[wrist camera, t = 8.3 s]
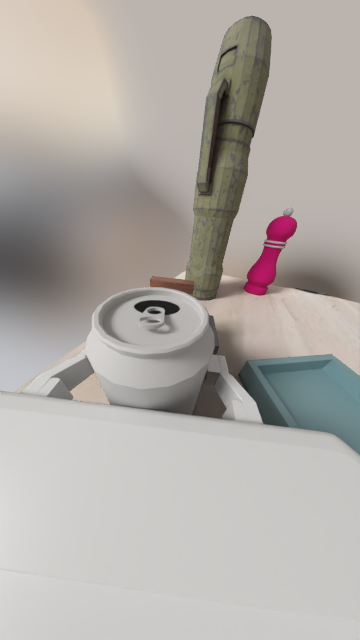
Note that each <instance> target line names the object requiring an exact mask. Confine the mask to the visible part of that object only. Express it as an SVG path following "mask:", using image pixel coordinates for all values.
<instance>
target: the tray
mask: <svg viewBox="0 0 360 640" xmlns="http://www.w3.org/2000/svg"><path fill="white" fill-rule="evenodd" d="M239 376H240V378H241V380H242V382H243V384H244V386H245V388H246V389H247V391H248V393H249V395H250V396H251V397H252V399H253V400H254V401H255V402H256V404H257V407H258V410H259V413H260V416H261V418H262V420H263V422H264V424H266V425H274V426H282V427H290V428H298V429H306V430H314V431H322V432H328V433H331V434H334V435H336V436H337V437H338V438H340V439H341V440H342V441H343V442H345V443H346V444H347V445H348V446H350V447H351V448H352V449H353V450H354V451H355V452H357V453H358V454H359V455H360V376H359V375H358V374H356V373H355V372H354V371H352V370H351V369H350V368H349V367H347V366H346V365H345V364H343V363H342V362H341V361H340V360H338V359H337V358H336V357H335V356H333V355H332V354H327V355H314V356H301V357H288V358H275V359H262V360H248V361H247V362H246V363H245V365H244V367H243V368H242V370H241V372H240V374H239Z"/></svg>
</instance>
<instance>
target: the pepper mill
mask: <svg viewBox="0 0 360 640" xmlns="http://www.w3.org/2000/svg"><path fill="white" fill-rule="evenodd" d="M292 213H293V209H292V208H287V209H286V210H285V211H284V213H283V215H284V216H281V217H278V218H276V219H275V220H273V221H272V222H271V223H270V224H269V226H268V228H267V230H266V234H267V239H266V240H265V242H264V244H263V245H264V249H263V252H262V254H261V256H260V258H259V259H258V261H257V262H256V263H255V264H254V265H253V266H252V268H251V269H250V270H249V272H248V274H247V279H248V282H246V284H245V287H244V289H245V290H246V291H247V292H249V293H252V294H256V295H264V294H265V293H266V291H267V289H268V287H267V286H268V285H270V284H271V283H272V282H273V281H274V279H275V276H276V262H277V258H278V256H279V254H280V252H281V250H282V249H283V248H285V244H287V242H286V241H287V239H289V238H290V237H291V236H293V234H294V233H295V231H296V228H297V222H296V220H295V219H294V218H292V217H289V216H291V215H292Z"/></svg>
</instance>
